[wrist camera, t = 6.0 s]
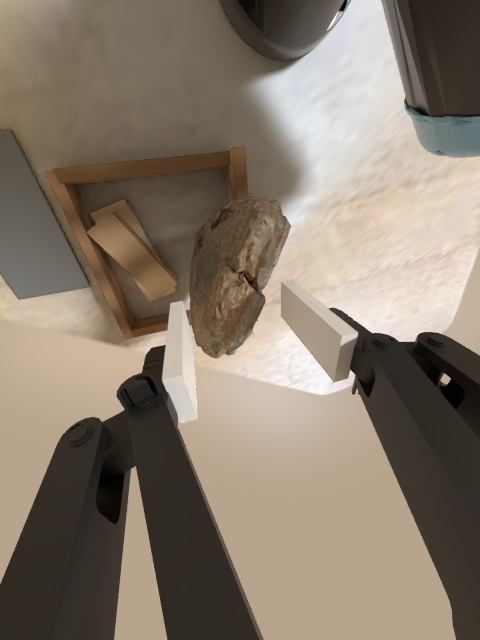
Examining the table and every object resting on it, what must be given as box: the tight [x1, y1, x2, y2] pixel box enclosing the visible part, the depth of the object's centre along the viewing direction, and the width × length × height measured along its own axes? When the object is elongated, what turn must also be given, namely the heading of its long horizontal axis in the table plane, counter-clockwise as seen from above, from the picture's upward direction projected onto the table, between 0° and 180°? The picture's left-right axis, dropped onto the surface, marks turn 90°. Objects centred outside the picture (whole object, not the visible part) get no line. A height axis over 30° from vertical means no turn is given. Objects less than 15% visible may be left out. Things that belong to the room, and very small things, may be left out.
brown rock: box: [189, 196, 291, 358], centre depth 23 cm, size 14×5×20 cm, turn 161°
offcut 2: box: [86, 211, 178, 300], centre depth 28 cm, size 11×4×2 cm, turn 34°
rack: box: [45, 147, 258, 339], centre depth 29 cm, size 21×20×6 cm
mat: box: [0, 129, 91, 299], centre depth 25 cm, size 17×9×1 cm, turn 6°
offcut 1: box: [89, 199, 177, 303], centre depth 30 cm, size 13×4×2 cm, turn 20°
